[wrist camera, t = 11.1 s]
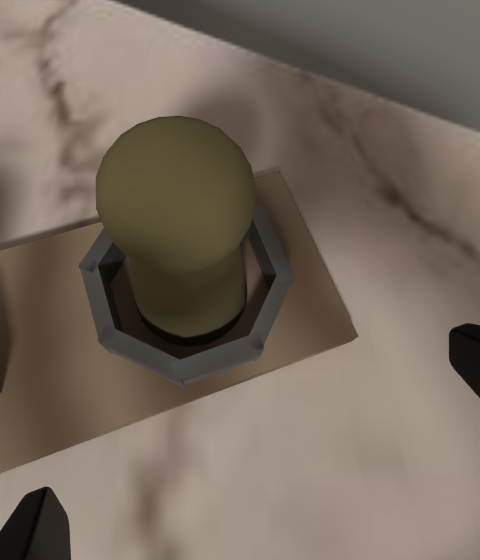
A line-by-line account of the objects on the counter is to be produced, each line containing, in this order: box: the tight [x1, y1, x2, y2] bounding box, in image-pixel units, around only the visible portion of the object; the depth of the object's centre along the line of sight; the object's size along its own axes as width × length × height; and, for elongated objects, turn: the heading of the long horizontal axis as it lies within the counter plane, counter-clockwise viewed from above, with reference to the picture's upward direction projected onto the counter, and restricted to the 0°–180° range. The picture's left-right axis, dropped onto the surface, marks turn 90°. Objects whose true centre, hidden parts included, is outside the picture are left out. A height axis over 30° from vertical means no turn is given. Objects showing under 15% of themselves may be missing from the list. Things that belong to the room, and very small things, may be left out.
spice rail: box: [0, 171, 358, 473], centre depth 17 cm, size 30×11×10 cm, turn 110°
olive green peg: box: [96, 116, 257, 347], centre depth 17 cm, size 6×6×11 cm
